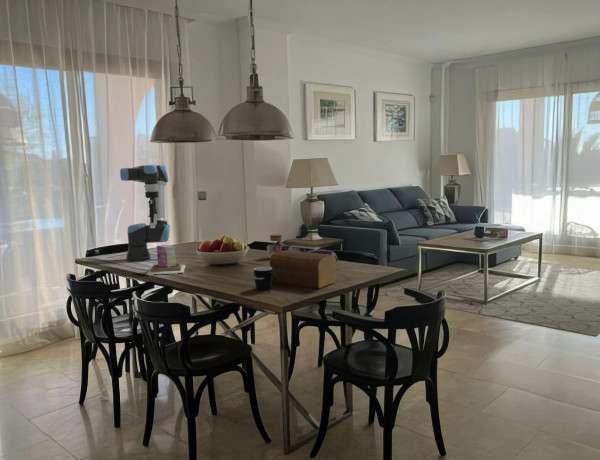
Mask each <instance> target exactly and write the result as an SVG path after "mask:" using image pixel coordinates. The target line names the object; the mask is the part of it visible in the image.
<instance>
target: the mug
mask: <svg viewBox="0 0 600 460" xmlns="http://www.w3.org/2000/svg"><path fill="white" fill-rule="evenodd" d="M272 276H273V277H274V282H272ZM253 277H254V278H253V280H254V283H255V285H254V286H255V289H256V290H257V291H268V290H270V289H271V287H272V286H274V285H275V284H276V283H275V282H276V277H275V275H274V274H273V273H272V268H271V267H270V266H260V267H259V266H258V267H254V268H253Z"/></svg>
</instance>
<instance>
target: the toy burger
mask: <svg viewBox="0 0 600 460" xmlns="http://www.w3.org/2000/svg"><path fill="white" fill-rule="evenodd" d="M269 236H270V239H269V240H270V242H271V241H272V242H276V243H275V244H268V245H267V246H266V252H267V253H266V254H267V255H269V254H274V253H276V252H279V251H283V246H284V243H283V242H282V240H283V239H282V238H283V236H282V234H280V233H279V234H277V233H276V234H275V233H274V234H270V235H269ZM271 256H272V255H270V256H268V259H269V260H270V257H271Z"/></svg>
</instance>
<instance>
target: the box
mask: <svg viewBox="0 0 600 460" xmlns="http://www.w3.org/2000/svg"><path fill="white" fill-rule="evenodd" d="M175 248H176V246H175V245H170V244H169V245H168V244H160V245H156V258H157V264H158V265H159V266H164V267H172V266H176V263H177V262H176V249H175Z"/></svg>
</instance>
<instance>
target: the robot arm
mask: <svg viewBox="0 0 600 460" xmlns="http://www.w3.org/2000/svg"><path fill="white" fill-rule="evenodd" d="M119 172H120V173H119V175H120V181H126V182H128V181H133V182H138V183H144V186H143V188H145V189H144V190H145V193H144V194H145V198H146V199H149V200H148V208H149V211H148V212H149V214H148V218H149V224H146V223H145V222H143V223H141V222H140V223H135V224H132V225H131V224H130V225H129V226H128V227H127V240H128V248H127V253H126V257H125V259H126V261H128V260H130V261H129V262H131V261H132V262H138V261H140V260H141V261H145V260H147V261H148V260H151V253H150V252H149V249H148V244H151V243H165V242H168V241H169V239H170V232H171V231H170V230H171V225H170V224H169V223H168V221H167V220H166V212H165V209H166V207H165V205H166V203H165V186H166V185H167V183H168V182H169V177H168V171H167V166H166V165H162V164H161V165H160V164H158V165H157V164H145V165H137V166H133V167H125V168H120V170H119ZM141 261H140V262H141Z"/></svg>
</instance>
